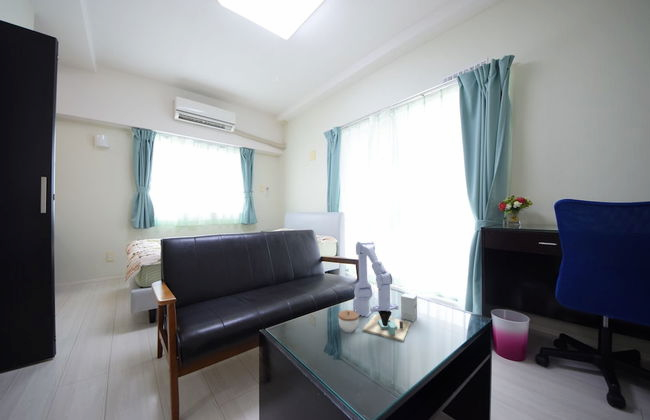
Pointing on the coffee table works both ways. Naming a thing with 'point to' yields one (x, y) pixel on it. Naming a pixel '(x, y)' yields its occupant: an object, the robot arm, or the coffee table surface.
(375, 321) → the board
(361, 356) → the coffee table surface
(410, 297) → the supplement box
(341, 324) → the lidded jar
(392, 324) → the angular block
